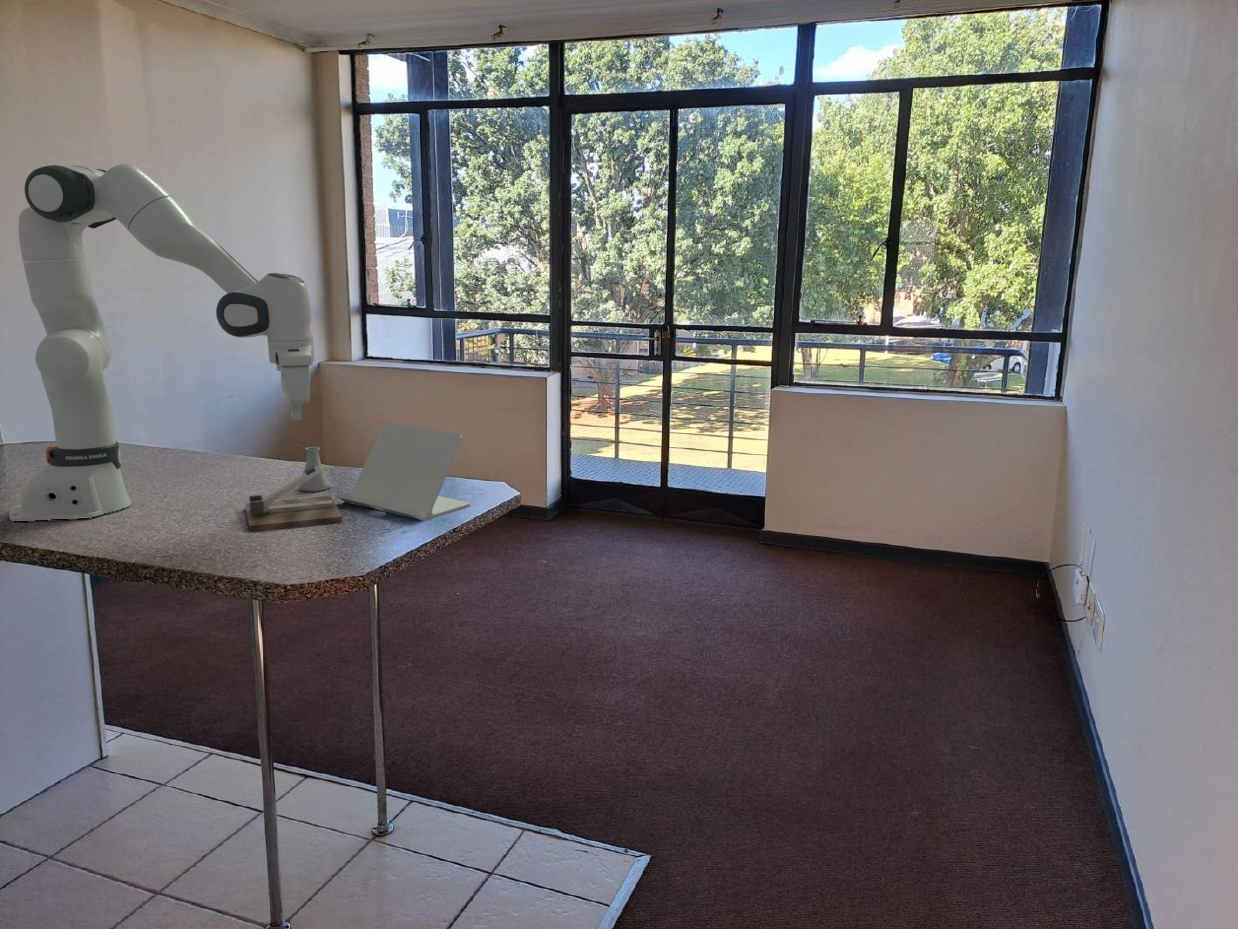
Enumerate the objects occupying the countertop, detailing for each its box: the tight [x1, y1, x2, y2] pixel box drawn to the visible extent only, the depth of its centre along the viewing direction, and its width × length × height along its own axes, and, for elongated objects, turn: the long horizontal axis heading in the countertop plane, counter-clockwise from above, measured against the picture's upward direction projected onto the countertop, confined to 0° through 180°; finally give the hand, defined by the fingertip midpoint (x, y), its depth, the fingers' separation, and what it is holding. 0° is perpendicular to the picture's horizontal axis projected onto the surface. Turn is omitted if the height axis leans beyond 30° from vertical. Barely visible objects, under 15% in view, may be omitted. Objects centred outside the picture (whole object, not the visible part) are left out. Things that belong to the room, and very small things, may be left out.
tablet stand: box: [335, 422, 471, 522], centre depth 196 cm, size 18×25×17 cm
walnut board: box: [244, 495, 343, 532], centre depth 189 cm, size 18×18×1 cm
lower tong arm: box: [249, 494, 333, 517], centre depth 188 cm, size 16×6×3 cm, turn 115°
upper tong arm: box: [252, 466, 322, 506], centre depth 187 cm, size 16×4×2 cm, turn 114°
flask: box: [298, 446, 332, 493], centre depth 210 cm, size 7×7×10 cm
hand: (297, 419), depth 185 cm, fingers closed
